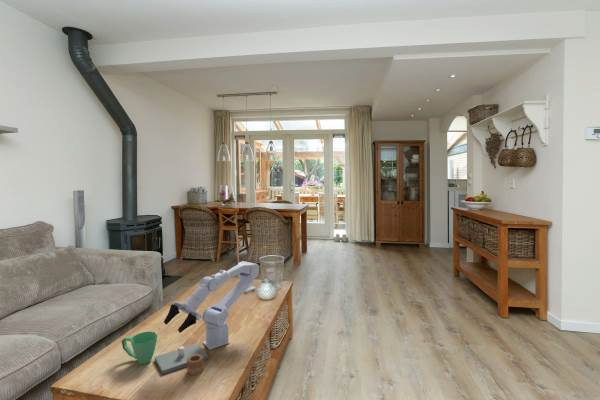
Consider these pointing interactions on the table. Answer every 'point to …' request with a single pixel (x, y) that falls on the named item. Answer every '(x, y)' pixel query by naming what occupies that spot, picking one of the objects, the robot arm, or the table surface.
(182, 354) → the post board
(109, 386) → the table surface
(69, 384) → the table surface
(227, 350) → the table surface
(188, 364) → the tube
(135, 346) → the mug
